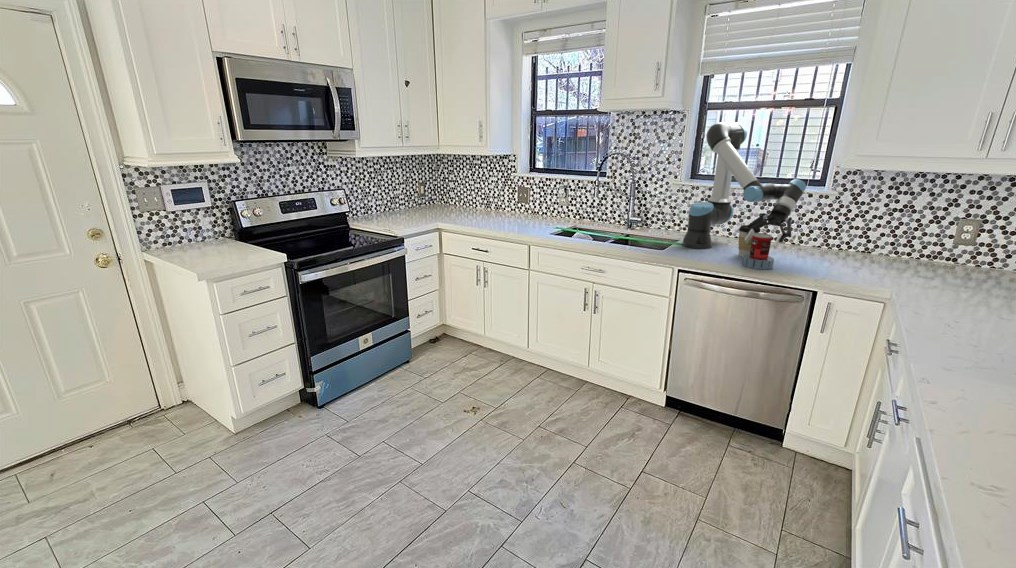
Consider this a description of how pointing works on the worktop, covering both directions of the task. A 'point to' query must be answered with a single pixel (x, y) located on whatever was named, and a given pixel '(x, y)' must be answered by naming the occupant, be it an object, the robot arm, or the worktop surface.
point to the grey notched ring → (757, 262)
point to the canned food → (760, 246)
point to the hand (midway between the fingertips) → (759, 244)
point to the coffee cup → (743, 246)
